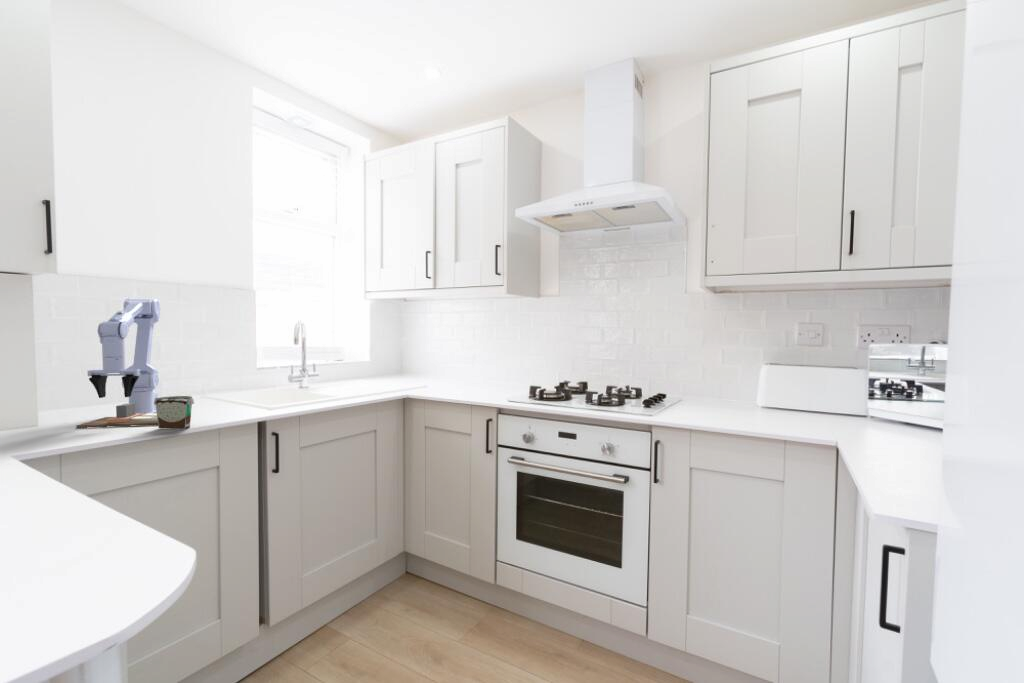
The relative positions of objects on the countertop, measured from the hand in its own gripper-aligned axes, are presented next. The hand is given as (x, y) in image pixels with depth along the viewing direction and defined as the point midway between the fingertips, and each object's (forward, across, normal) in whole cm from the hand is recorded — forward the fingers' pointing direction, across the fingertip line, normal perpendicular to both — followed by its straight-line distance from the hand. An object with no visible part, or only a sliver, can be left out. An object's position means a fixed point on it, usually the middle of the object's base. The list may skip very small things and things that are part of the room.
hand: (115, 397), depth 155 cm
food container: (+10, +23, -8) cm, 26 cm away
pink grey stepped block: (+8, +1, +3) cm, 9 cm away
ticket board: (+9, +3, +3) cm, 11 cm away
